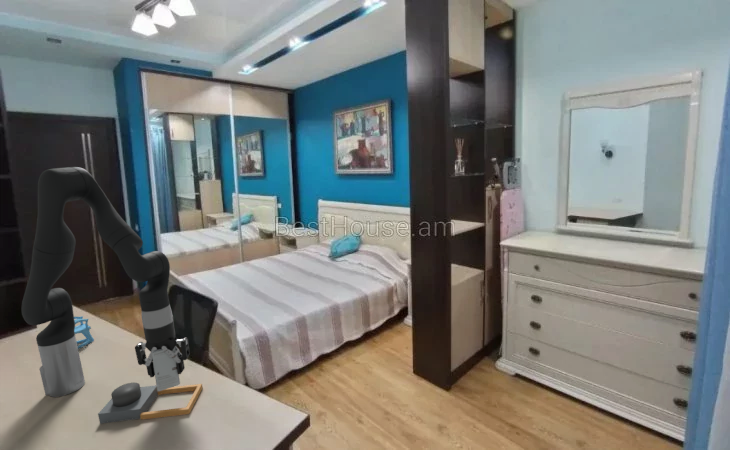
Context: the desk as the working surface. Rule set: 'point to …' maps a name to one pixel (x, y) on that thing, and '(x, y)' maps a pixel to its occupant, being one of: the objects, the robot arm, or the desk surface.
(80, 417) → the desk surface
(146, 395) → the dome slab with frame
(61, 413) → the desk surface
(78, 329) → the chair
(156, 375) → the skincare box
